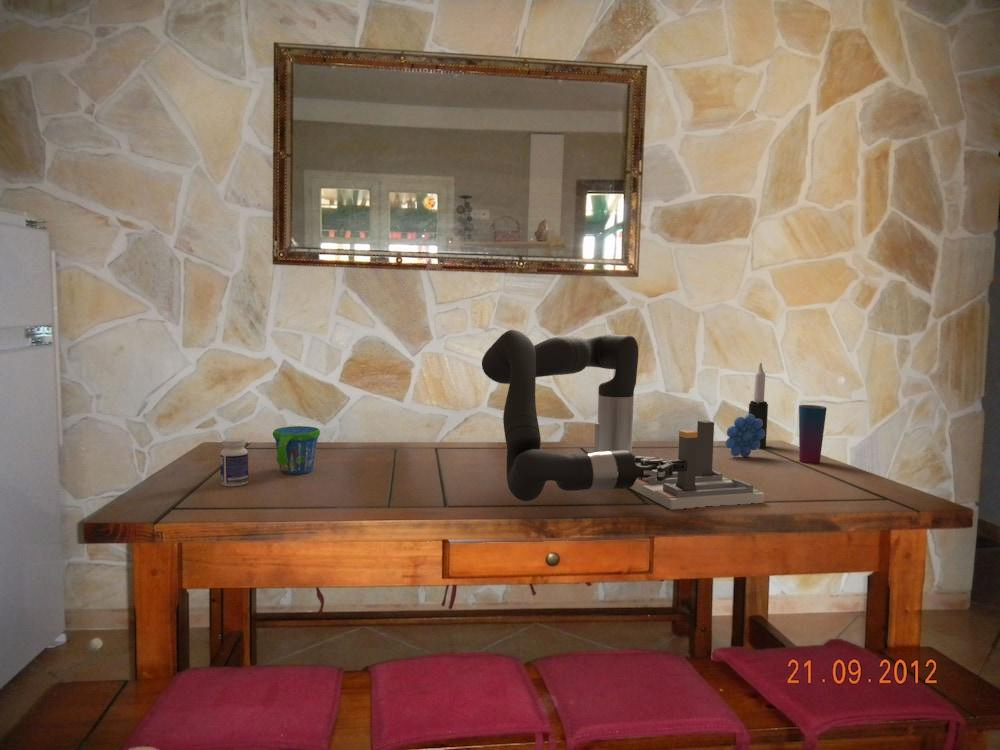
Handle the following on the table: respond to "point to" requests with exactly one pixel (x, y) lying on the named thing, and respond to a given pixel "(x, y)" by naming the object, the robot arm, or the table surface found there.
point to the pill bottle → (234, 462)
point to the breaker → (687, 459)
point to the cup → (811, 432)
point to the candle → (760, 402)
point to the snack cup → (296, 448)
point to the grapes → (745, 435)
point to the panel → (700, 482)
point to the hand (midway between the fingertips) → (685, 465)
